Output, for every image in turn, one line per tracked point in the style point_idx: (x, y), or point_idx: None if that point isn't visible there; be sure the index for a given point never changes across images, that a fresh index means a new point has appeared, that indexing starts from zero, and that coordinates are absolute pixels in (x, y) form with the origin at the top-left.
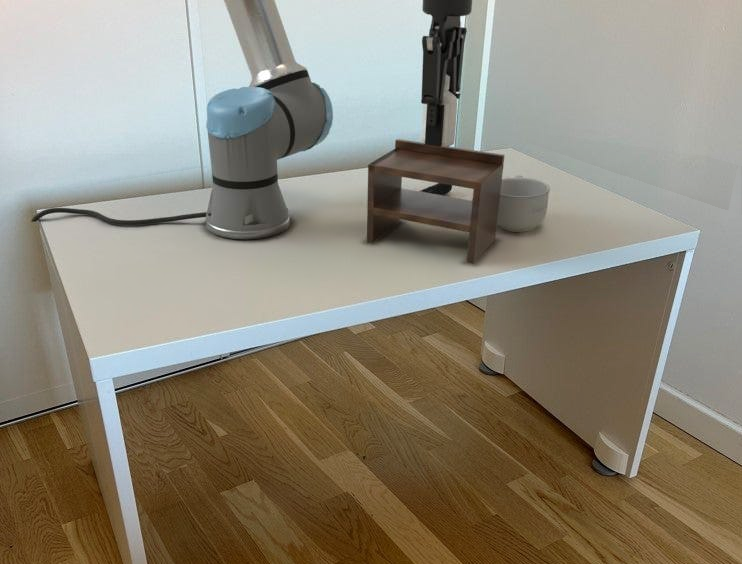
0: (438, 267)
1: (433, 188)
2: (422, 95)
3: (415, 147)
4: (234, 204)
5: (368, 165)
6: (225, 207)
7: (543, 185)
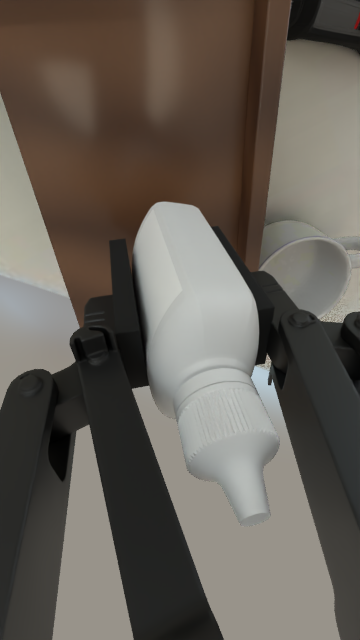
0: (41, 233)
1: None
2: (2, 411)
3: (252, 96)
4: None
5: None
6: None
7: (323, 309)
